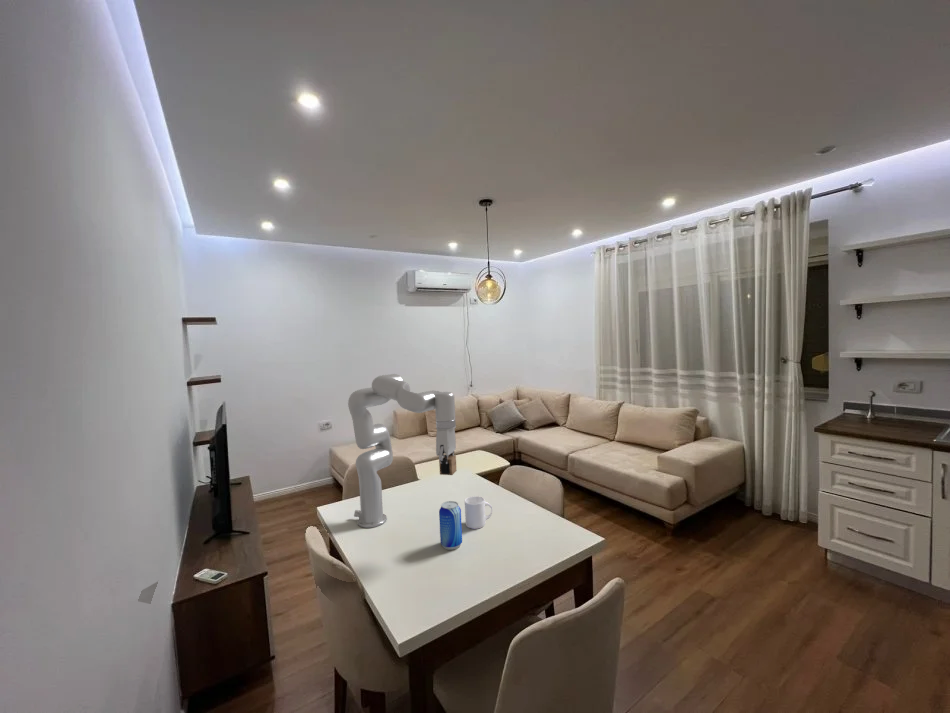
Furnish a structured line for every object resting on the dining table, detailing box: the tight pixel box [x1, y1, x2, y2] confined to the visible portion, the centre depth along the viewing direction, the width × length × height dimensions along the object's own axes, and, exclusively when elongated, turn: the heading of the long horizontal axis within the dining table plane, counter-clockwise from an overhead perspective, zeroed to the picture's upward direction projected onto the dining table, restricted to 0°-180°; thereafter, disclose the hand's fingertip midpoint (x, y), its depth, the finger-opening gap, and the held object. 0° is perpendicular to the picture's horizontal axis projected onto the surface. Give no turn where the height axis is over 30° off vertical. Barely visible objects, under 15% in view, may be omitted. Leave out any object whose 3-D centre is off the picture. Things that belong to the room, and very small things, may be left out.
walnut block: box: [438, 455, 457, 476], centre depth 149 cm, size 5×5×6 cm
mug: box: [464, 495, 493, 530], centre depth 166 cm, size 9×12×11 cm
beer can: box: [438, 500, 463, 551], centre depth 149 cm, size 8×8×16 cm
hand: (448, 470), depth 149 cm, fingers closed on walnut block, 5 cm apart
